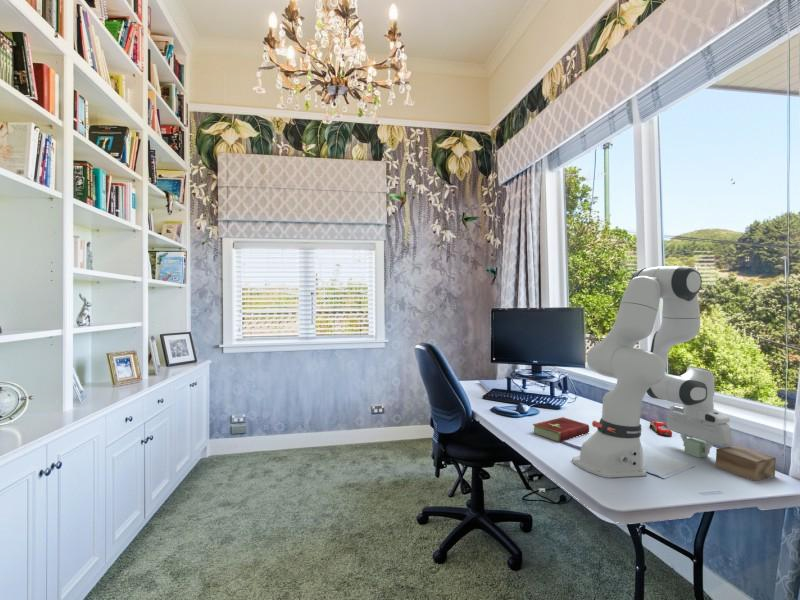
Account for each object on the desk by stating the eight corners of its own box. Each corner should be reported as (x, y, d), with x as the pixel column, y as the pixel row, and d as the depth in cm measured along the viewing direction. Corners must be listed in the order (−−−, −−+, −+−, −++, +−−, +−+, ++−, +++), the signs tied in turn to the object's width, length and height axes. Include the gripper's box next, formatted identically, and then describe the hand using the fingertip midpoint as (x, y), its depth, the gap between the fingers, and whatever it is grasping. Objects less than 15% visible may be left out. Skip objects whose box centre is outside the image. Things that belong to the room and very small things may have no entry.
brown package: (754, 480, 125) (755, 461, 125) (715, 466, 135) (716, 448, 135) (774, 476, 129) (775, 457, 129) (735, 462, 140) (736, 445, 139)
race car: (673, 438, 164) (674, 428, 164) (658, 436, 166) (659, 427, 166) (662, 428, 177) (662, 419, 177) (648, 427, 178) (648, 418, 178)
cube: (699, 457, 143) (699, 443, 143) (684, 452, 148) (685, 438, 147) (707, 456, 145) (708, 442, 145) (693, 451, 149) (693, 437, 149)
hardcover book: (589, 434, 165) (589, 424, 165) (559, 443, 153) (559, 432, 153) (562, 426, 175) (562, 416, 175) (532, 433, 162) (532, 423, 162)
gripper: (663, 404, 154) (662, 440, 155) (723, 420, 136) (721, 461, 136) (674, 403, 157) (672, 439, 157) (735, 419, 138) (733, 459, 138)
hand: (696, 449), depth 146 cm, fingers closed on cube, 5 cm apart
